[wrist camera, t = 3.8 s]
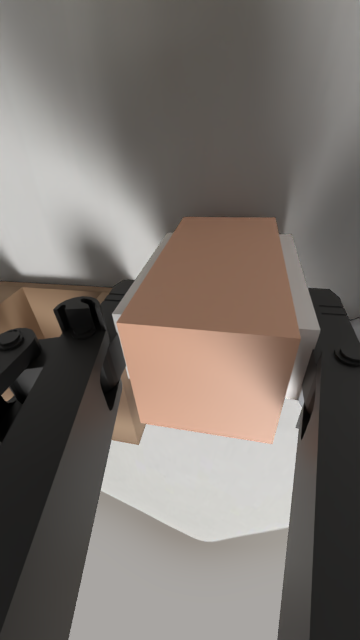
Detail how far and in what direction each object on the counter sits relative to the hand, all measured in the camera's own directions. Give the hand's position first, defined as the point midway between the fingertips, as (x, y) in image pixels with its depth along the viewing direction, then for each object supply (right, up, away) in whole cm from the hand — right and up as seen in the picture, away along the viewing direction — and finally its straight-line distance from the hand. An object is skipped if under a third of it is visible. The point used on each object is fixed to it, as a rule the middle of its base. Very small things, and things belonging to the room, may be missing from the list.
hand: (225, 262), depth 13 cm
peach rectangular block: (0, 0, 0) cm, 0 cm away
